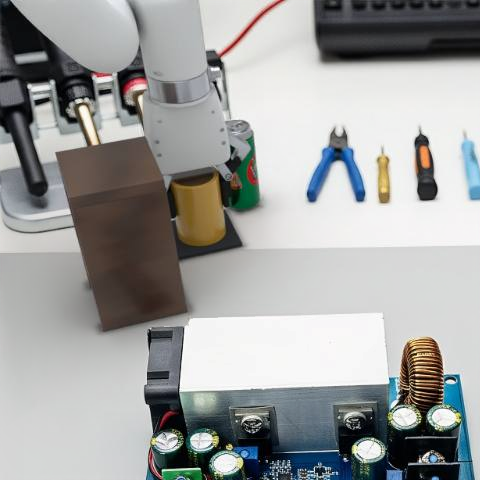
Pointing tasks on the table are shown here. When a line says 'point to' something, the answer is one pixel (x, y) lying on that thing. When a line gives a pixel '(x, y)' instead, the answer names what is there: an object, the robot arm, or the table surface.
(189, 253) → the mat
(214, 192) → the cup
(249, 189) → the soda can
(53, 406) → the table surface
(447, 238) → the table surface
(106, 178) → the tall brown wooden block
